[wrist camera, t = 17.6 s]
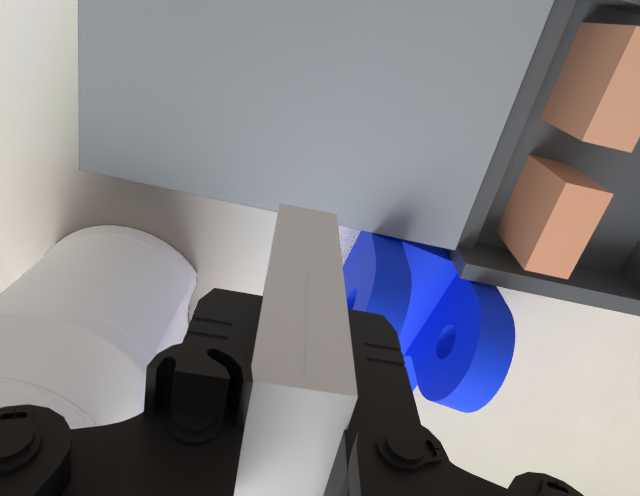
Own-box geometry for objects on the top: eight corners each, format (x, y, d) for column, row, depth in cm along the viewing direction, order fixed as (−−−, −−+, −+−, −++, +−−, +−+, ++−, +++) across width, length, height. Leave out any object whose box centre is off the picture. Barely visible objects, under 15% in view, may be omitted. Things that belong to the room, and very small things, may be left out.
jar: (51, 211, 31) (-167, 371, 17) (200, 239, 31) (102, 413, 18) (61, 351, 36) (-102, 557, 22) (188, 372, 36) (105, 585, 23)
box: (445, 247, 31) (459, 278, 27) (552, -31, 24) (591, -37, 20) (621, 284, 32) (657, 319, 28) (775, 29, 25) (849, 33, 21)
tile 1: (524, 269, 25) (567, 279, 26) (566, 182, 23) (613, 193, 23) (495, 230, 30) (533, 239, 30) (528, 154, 28) (568, 163, 28)
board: (98, 157, 29) (79, 169, 27) (102, -125, 23) (77, -139, 20) (446, 232, 31) (454, 250, 28) (538, -10, 24) (559, -12, 22)
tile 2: (581, 141, 22) (631, 152, 22) (636, 25, 20) (691, 39, 20) (540, 118, 27) (581, 128, 27) (581, 22, 24) (626, 34, 25)
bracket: (368, 215, 30) (381, 290, 22) (481, 261, 32) (532, 347, 24) (270, 406, 38) (254, 513, 30) (365, 437, 39) (373, 547, 31)
